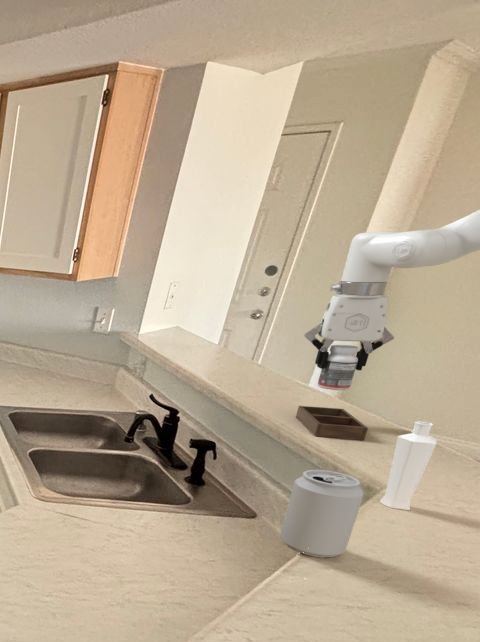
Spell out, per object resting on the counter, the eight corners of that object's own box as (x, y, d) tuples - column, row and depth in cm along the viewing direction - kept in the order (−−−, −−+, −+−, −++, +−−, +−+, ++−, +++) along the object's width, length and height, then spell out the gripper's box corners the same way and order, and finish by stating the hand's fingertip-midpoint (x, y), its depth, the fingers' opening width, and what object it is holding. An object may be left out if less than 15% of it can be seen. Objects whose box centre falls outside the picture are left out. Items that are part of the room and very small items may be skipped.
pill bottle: (318, 383, 143) (329, 343, 140) (350, 387, 139) (363, 345, 136) (315, 388, 140) (326, 347, 136) (348, 392, 136) (360, 349, 132)
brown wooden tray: (339, 420, 144) (343, 408, 143) (364, 440, 131) (368, 427, 130) (295, 417, 148) (298, 405, 147) (314, 436, 135) (318, 423, 134)
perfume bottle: (423, 511, 99) (454, 427, 94) (393, 510, 100) (422, 427, 95) (400, 499, 103) (429, 419, 98) (371, 499, 104) (398, 419, 99)
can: (267, 535, 94) (286, 466, 90) (322, 537, 93) (343, 467, 89) (297, 558, 87) (318, 485, 83) (356, 562, 86) (381, 487, 82)
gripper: (315, 291, 133) (295, 369, 139) (422, 291, 125) (395, 374, 131) (306, 288, 139) (287, 363, 145) (407, 288, 131) (382, 367, 137)
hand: (338, 367), depth 138 cm, fingers closed on pill bottle, 5 cm apart
